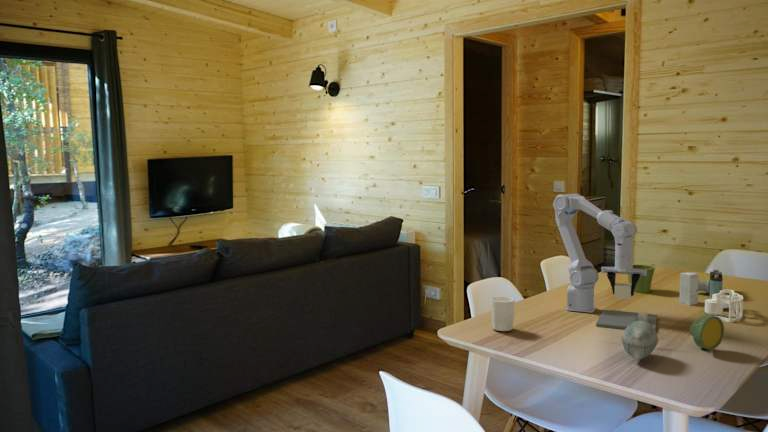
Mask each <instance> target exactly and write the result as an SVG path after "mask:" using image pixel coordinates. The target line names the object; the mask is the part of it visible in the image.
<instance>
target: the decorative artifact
mask: <svg viewBox="0 0 768 432" xmlns="http://www.w3.org/2000/svg"><path fill="white" fill-rule="evenodd" d="M716 316H717V315H716ZM716 316H714V315H713V314H709V313H706V314H703V315H701V316H699V317H698V318H697V319H696V320H695V321H694V322H692V324H691V325H690V327H689V334H690V336H692V338H693V339H692V340H693V342H694V344H695V345H696V346H697V347H699V348H702V349H705V350H708V351H713V350H714V349H716V348H718V346H719V345H720V344H722V340H723V339H724V335H725V325H724V321H723V320H721V319H720V318H719V317H716Z"/></svg>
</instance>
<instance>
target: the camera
mask: <svg viewBox="0 0 768 432" xmlns="http://www.w3.org/2000/svg"><path fill="white" fill-rule="evenodd" d="M723 280H724V279H723V272H722V271H720V270H719V269H717V268H716V269H713V270H712V271H710V272H709V279H706V280H705V279H704V280H699V279H698V292H704V293H707V294H708V296H709V299H712V294H717V293H720V291H721V290H723Z"/></svg>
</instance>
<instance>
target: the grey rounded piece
mask: <svg viewBox="0 0 768 432" xmlns="http://www.w3.org/2000/svg"><path fill="white" fill-rule="evenodd" d="M658 342H659V336H658V334H657V331H656V328H655V329H654V328H653V326H652V325H650V324H649V323H648V322H645V321H635V322H633V323H632V324H630V325H629V326H628V327H627V328H626V329H625V330H624V329H623V332H622V334H621V344H622V346H623V348H624V351H625V352H626V353H627V354H628V355H629V356H630V357H632V359H633V358H634V359H636V360H639V359H640V360H641V359H642V360H643V359H645V358H646V357H648V356H650V355H651V354H652V353H653V351H655V349H656V347H657V345H658Z"/></svg>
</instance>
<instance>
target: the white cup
mask: <svg viewBox="0 0 768 432" xmlns="http://www.w3.org/2000/svg"><path fill="white" fill-rule="evenodd" d="M515 302H516V300H515V298H514V297H513V298H512V297H510V296H509V297H508V296H494V297H492V298H490V308H491V310H490V311H491V313H490V314H491V322H492V329H493V330H495V331H499V332H509V331H513V328H514V327H513V326H514V318H515V316H514V315H515Z"/></svg>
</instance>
